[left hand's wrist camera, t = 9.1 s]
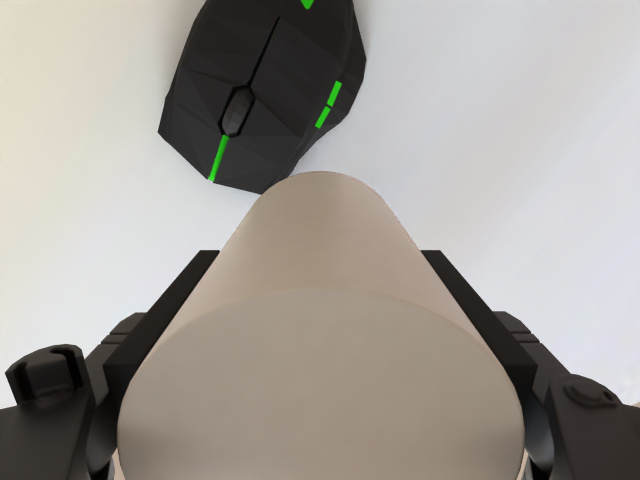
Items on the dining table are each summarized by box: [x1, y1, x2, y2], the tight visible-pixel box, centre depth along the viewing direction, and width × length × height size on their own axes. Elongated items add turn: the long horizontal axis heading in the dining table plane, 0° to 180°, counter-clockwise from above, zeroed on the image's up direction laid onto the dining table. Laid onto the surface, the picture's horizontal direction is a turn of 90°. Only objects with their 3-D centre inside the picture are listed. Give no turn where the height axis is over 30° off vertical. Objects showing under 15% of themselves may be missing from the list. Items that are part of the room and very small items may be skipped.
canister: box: [117, 171, 525, 480], centre depth 12 cm, size 8×8×11 cm
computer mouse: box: [158, 0, 366, 195], centre depth 23 cm, size 11×16×4 cm
